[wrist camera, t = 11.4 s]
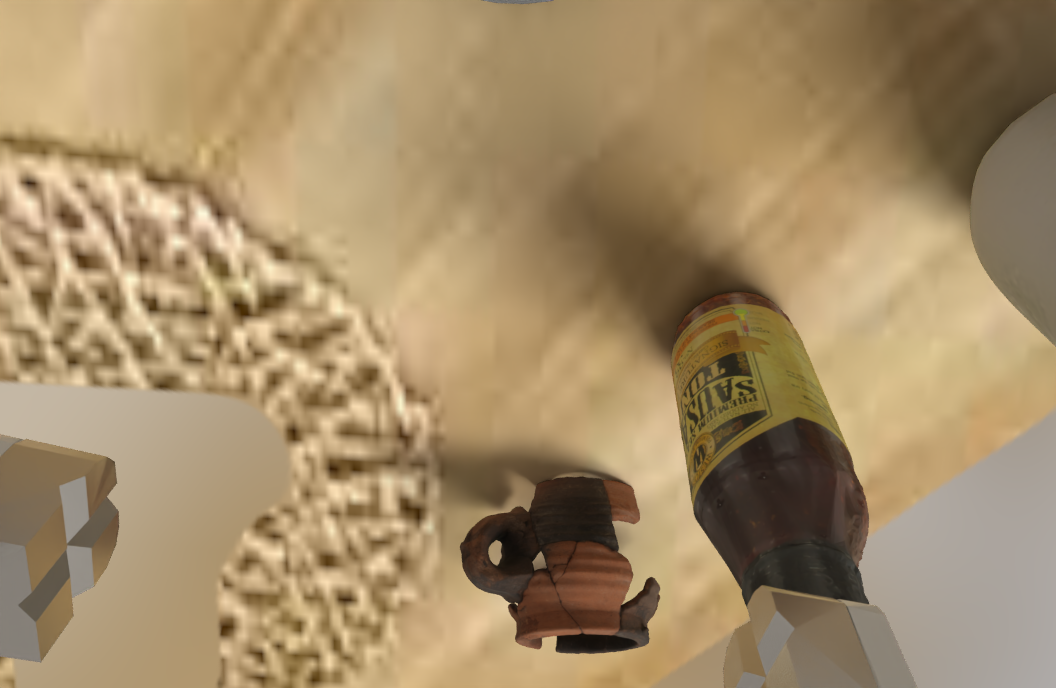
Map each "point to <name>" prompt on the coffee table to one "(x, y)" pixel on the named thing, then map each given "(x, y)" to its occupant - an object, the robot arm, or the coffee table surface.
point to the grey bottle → (1020, 215)
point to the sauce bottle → (766, 452)
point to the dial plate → (517, 1)
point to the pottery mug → (565, 567)
